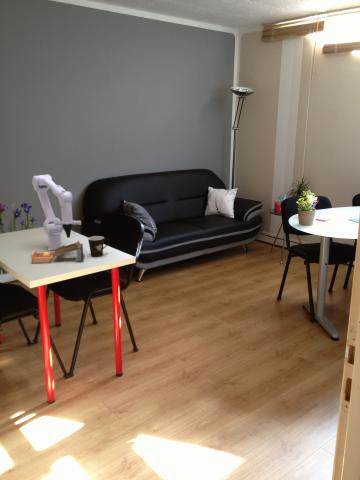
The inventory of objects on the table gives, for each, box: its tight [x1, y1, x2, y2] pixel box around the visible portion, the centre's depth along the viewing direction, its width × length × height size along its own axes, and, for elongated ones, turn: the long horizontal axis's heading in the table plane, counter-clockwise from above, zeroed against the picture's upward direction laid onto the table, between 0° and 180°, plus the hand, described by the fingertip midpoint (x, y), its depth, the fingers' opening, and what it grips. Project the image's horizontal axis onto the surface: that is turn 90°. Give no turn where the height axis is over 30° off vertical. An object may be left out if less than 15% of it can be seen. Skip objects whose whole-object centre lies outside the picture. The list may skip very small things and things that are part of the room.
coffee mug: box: [87, 235, 110, 258], centre depth 246 cm, size 12×9×10 cm
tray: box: [30, 248, 55, 265], centre depth 238 cm, size 10×10×5 cm
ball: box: [43, 251, 50, 258], centre depth 238 cm, size 4×4×4 cm
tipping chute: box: [52, 240, 83, 258], centre depth 242 cm, size 15×15×3 cm
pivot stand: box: [75, 243, 86, 263], centre depth 240 cm, size 11×4×7 cm, turn 6°
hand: (68, 237), depth 247 cm, fingers closed
